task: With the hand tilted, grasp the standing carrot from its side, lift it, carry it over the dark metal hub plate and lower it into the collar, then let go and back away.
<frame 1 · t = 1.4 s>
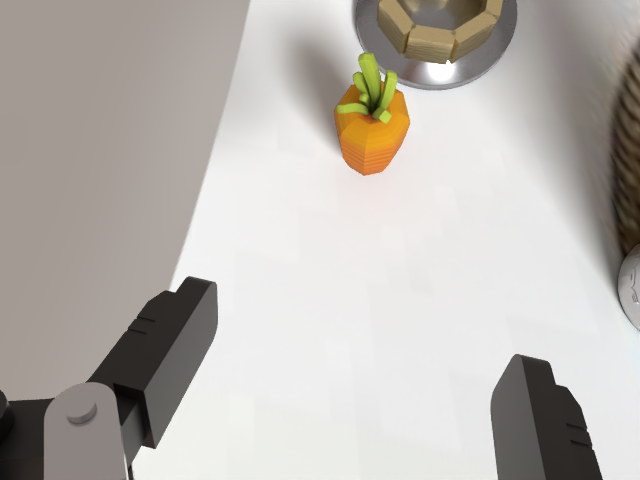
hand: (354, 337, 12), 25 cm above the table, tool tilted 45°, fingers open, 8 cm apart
carrot: (366, 168, 39), on the table
hub socket: (433, 18, 41), on the table
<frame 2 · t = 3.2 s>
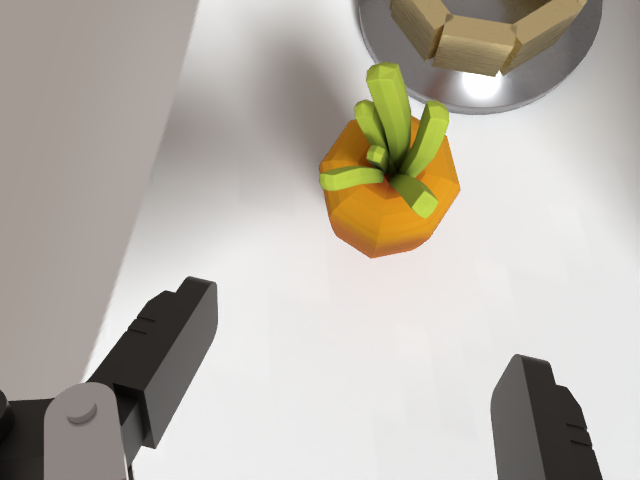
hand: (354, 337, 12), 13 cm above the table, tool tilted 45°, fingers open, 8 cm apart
carrot: (373, 232, 26), on the table
hub socket: (473, 7, 28), on the table
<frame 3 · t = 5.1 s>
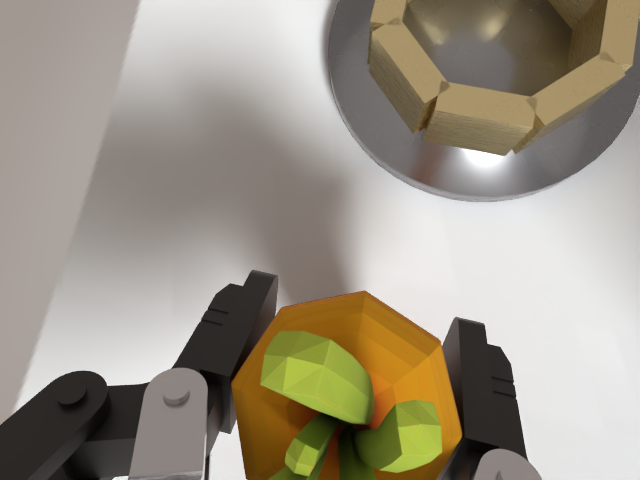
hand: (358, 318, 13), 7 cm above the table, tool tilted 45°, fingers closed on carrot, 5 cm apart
carrot: (345, 359, 20), on the table, touching gripper
hub socket: (476, 59, 21), on the table
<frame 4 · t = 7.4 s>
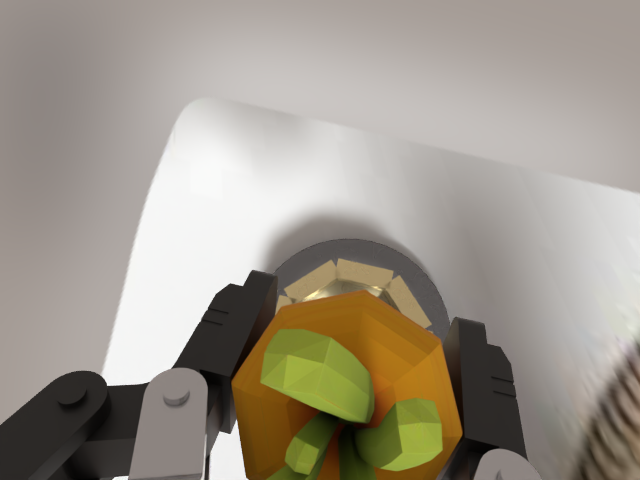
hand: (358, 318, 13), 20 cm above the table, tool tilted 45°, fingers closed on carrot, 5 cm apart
carrot: (346, 358, 20), point 13 cm above the table, touching gripper
hub socket: (348, 338, 32), on the table
when the fingers open (10 cm above the table, at t = 9.6 s): carrot drops 2 cm, resting on hub socket.
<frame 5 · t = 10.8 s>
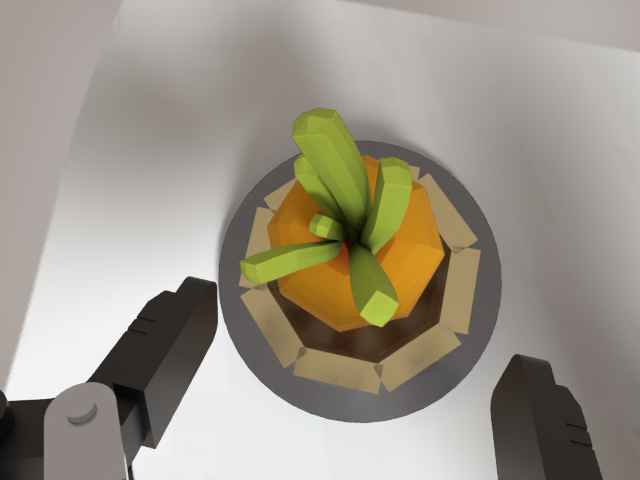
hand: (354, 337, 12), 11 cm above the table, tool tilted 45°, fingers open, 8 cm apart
carrot: (360, 278, 22), point 1 cm above the table, touching hub socket
hub socket: (356, 276, 23), on the table
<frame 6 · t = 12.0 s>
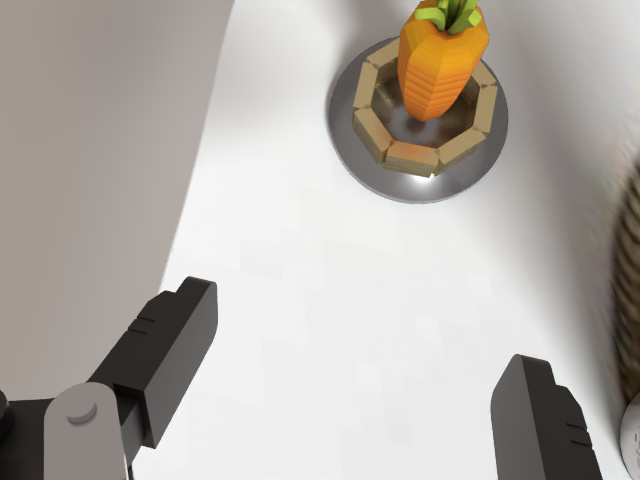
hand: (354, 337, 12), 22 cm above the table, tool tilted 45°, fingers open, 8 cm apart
carrot: (419, 118, 36), point 1 cm above the table, touching hub socket
hub socket: (416, 120, 37), on the table
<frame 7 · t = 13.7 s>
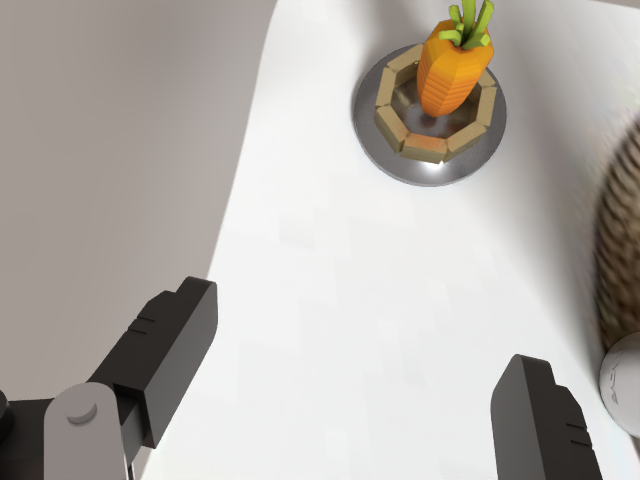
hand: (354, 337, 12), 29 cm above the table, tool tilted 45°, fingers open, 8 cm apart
carrot: (431, 114, 42), point 1 cm above the table, touching hub socket
hub socket: (427, 116, 43), on the table
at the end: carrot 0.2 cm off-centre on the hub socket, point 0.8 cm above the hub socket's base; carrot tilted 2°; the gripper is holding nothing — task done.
